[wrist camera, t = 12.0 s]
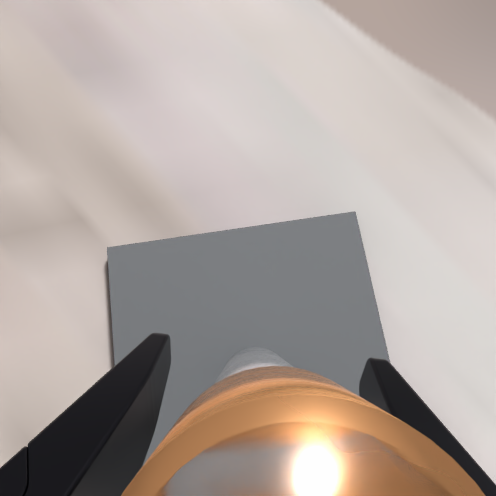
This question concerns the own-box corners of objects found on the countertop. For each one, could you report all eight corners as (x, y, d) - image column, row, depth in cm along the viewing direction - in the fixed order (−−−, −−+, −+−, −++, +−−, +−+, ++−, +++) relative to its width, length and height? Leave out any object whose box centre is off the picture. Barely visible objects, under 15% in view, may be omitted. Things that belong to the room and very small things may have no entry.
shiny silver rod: (297, 346, 17) (537, 419, 3) (291, 429, 16) (566, 1023, 2) (221, 337, 17) (114, 371, 3) (211, 419, 16) (12, 942, 2)
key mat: (424, 534, 16) (431, 542, 15) (134, 585, 15) (129, 595, 15) (352, 215, 19) (355, 211, 18) (111, 250, 18) (107, 247, 18)
